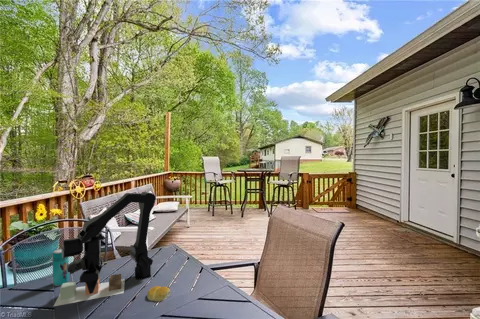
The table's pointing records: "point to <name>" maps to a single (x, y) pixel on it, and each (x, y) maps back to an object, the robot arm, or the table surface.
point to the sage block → (68, 290)
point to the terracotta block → (94, 289)
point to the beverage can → (60, 268)
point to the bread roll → (158, 293)
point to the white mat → (82, 297)
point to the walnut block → (115, 282)
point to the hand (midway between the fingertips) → (92, 289)
